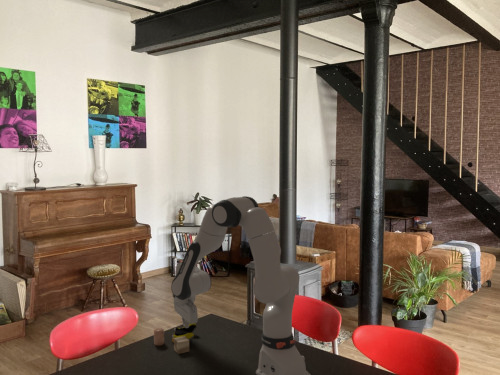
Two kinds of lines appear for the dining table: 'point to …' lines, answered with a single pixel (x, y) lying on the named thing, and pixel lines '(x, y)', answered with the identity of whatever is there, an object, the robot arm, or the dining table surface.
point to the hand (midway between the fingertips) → (185, 327)
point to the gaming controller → (184, 332)
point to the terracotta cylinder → (159, 336)
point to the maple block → (181, 344)
